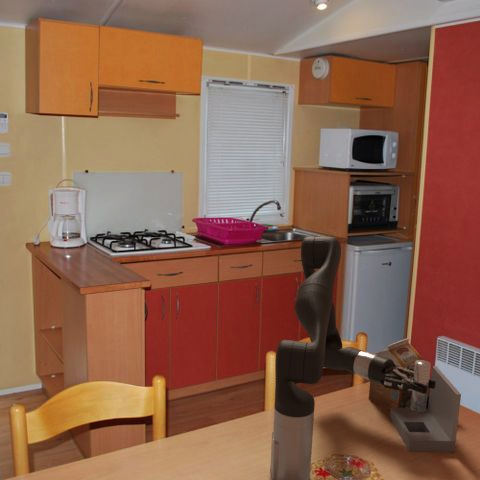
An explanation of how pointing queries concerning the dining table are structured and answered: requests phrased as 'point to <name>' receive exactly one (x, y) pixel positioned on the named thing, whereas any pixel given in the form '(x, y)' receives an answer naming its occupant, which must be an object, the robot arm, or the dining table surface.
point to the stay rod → (421, 377)
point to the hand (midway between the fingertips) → (430, 387)
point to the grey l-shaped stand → (431, 419)
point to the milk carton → (401, 357)
